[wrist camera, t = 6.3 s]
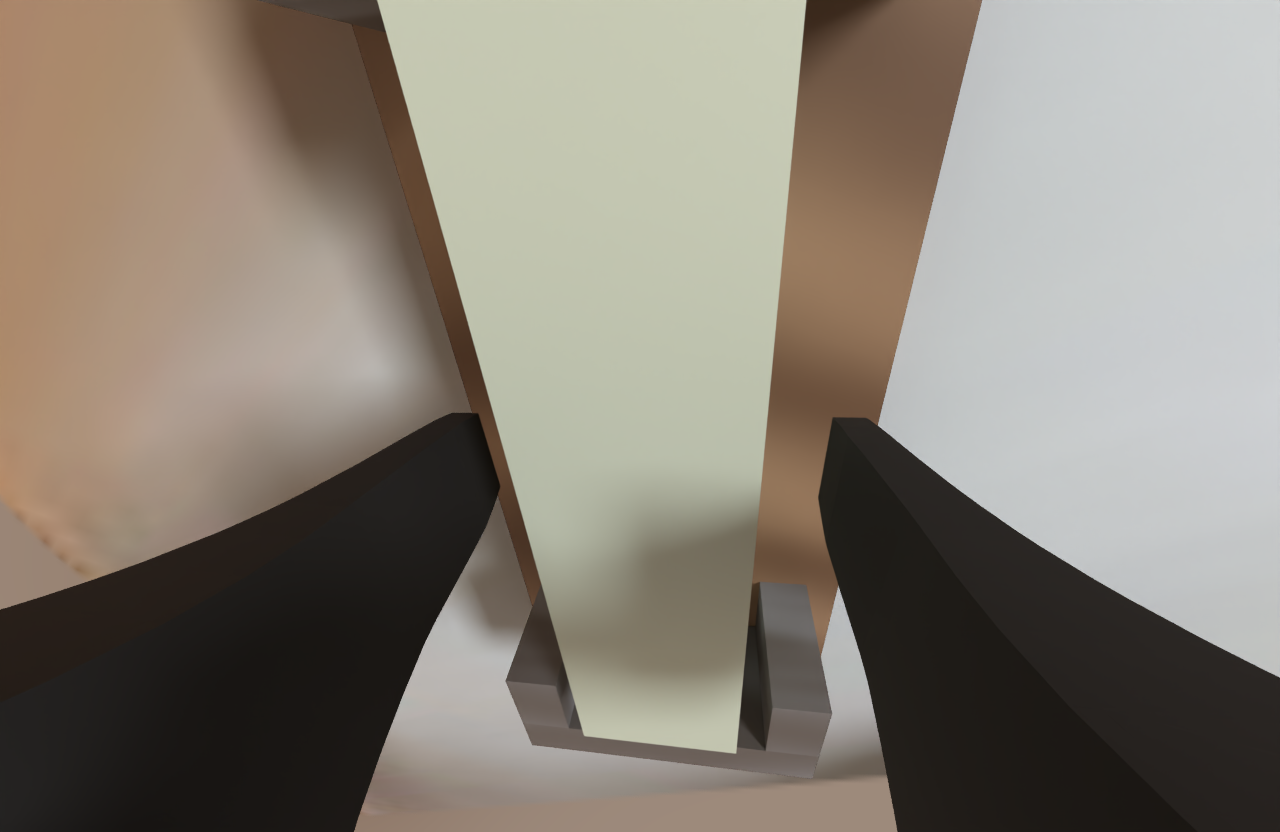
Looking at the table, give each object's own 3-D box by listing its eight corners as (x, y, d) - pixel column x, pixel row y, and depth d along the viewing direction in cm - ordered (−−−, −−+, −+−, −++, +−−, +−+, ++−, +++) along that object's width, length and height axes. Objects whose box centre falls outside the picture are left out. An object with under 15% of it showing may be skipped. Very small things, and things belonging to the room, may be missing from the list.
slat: (730, 587, 16) (736, 753, 12) (616, 580, 17) (584, 735, 12) (765, -53, 7) (830, -263, 3) (527, -22, 8) (330, -168, 4)
